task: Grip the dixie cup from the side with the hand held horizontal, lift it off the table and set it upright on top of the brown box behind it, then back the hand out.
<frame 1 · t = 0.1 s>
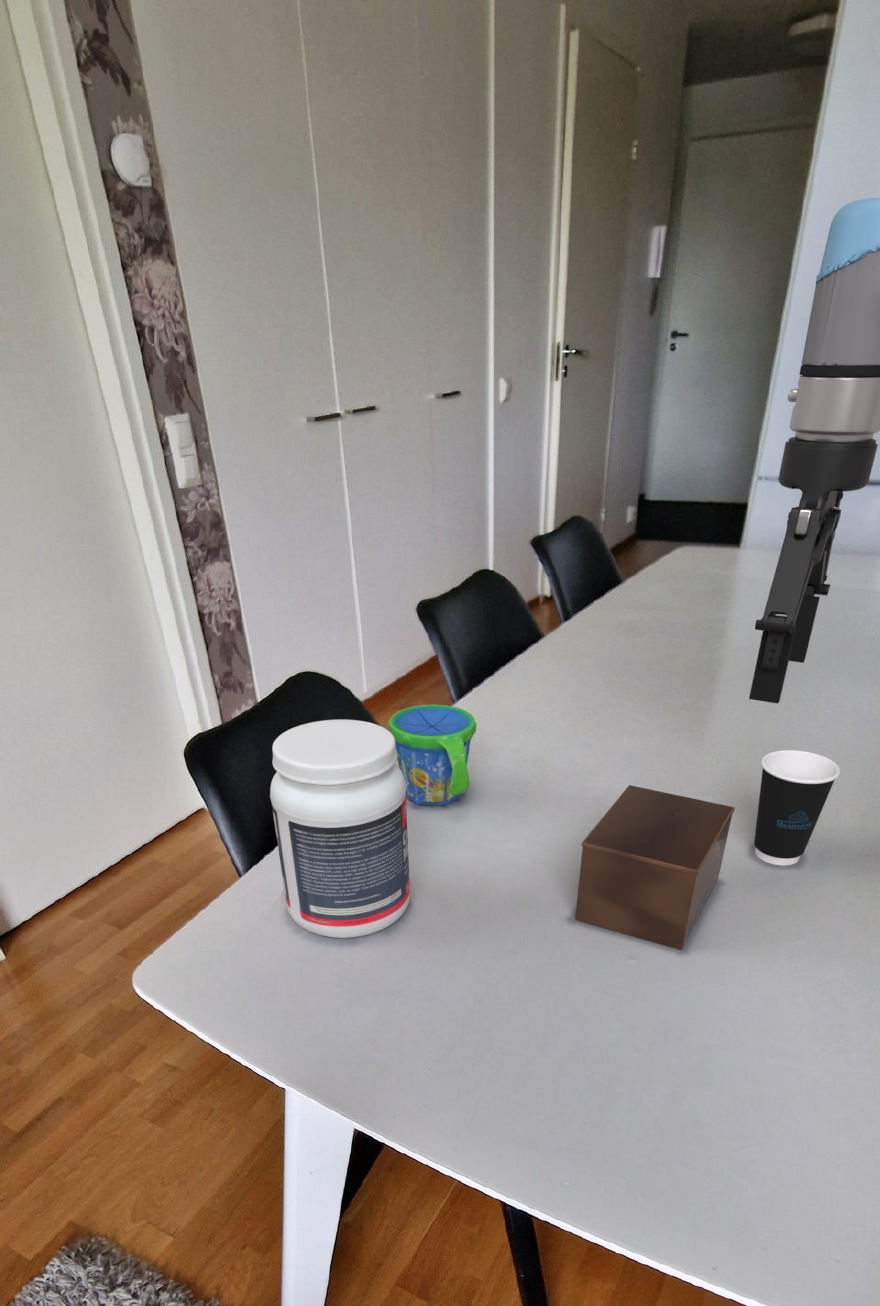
hand: (778, 679, 85), 20 cm above the table, tool pointing down, fingers open, 13 cm apart
dixie cup: (776, 856, 96), on the table
snack cup: (433, 796, 109), on the table
brown box: (648, 900, 88), on the table
supplement tub: (349, 910, 88), on the table
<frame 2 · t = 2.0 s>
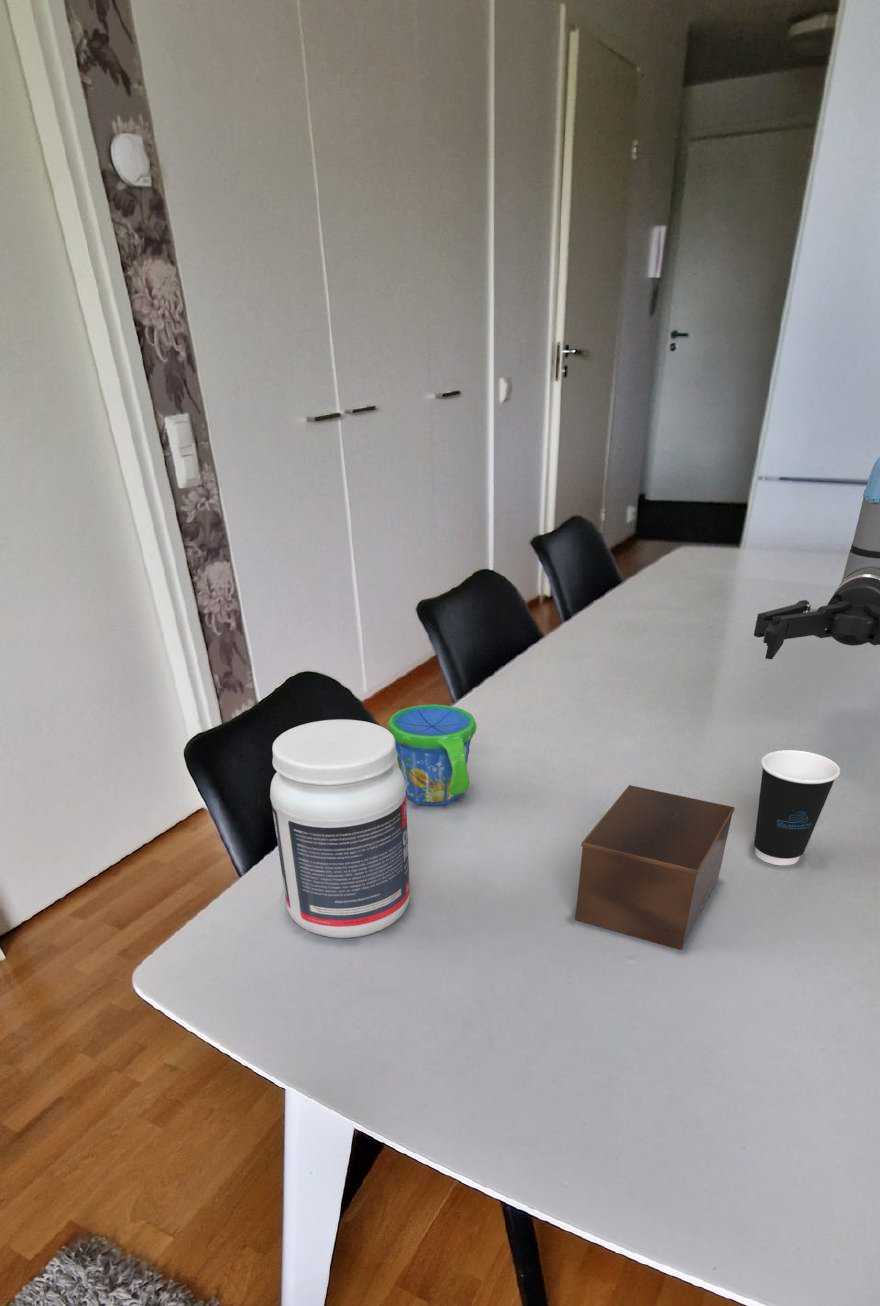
hand: (836, 655, 91), 20 cm above the table, tool horizontal, fingers open, 13 cm apart
nothing on the table moved.
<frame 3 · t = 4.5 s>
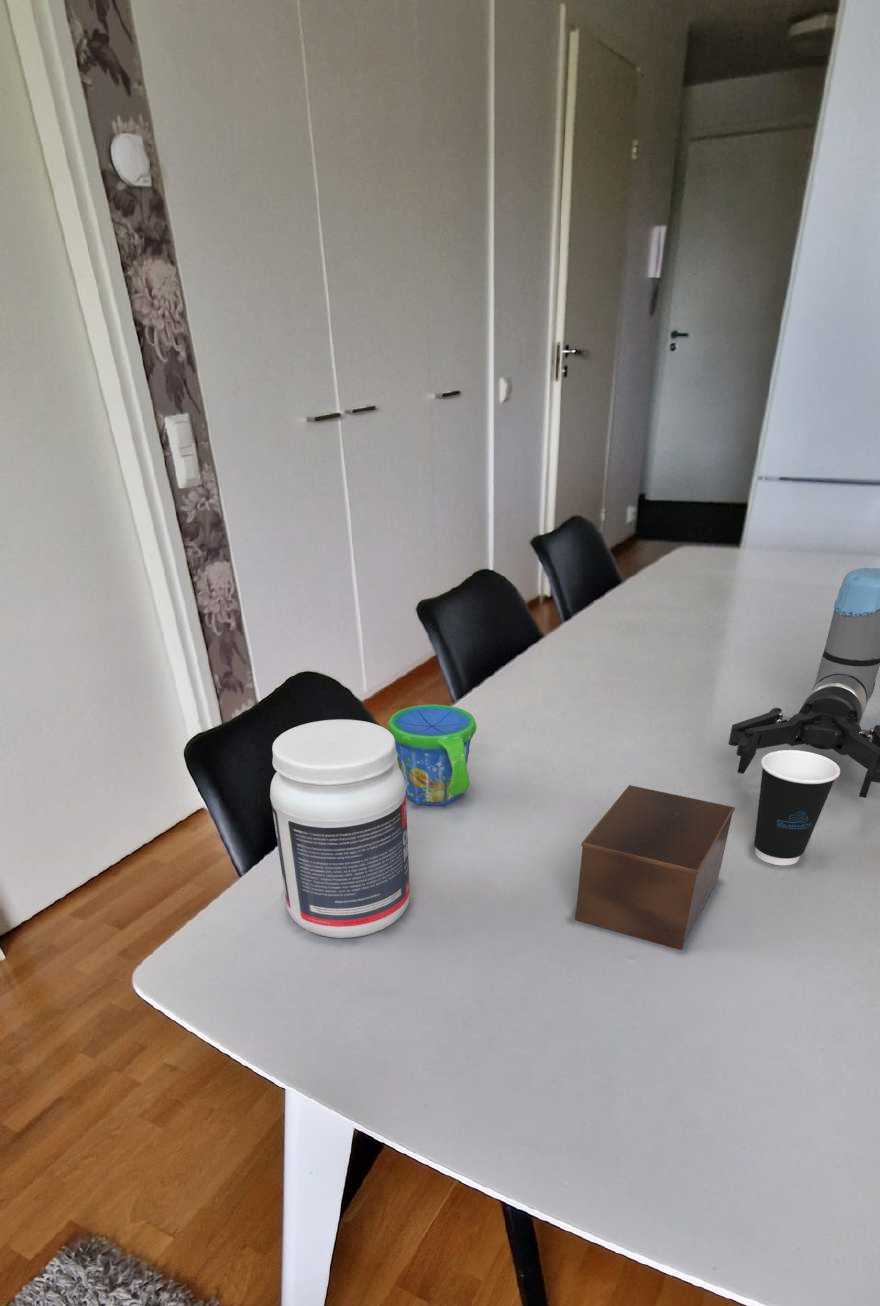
hand: (802, 774, 97), 7 cm above the table, tool horizontal, fingers open, 13 cm apart
nothing on the table moved.
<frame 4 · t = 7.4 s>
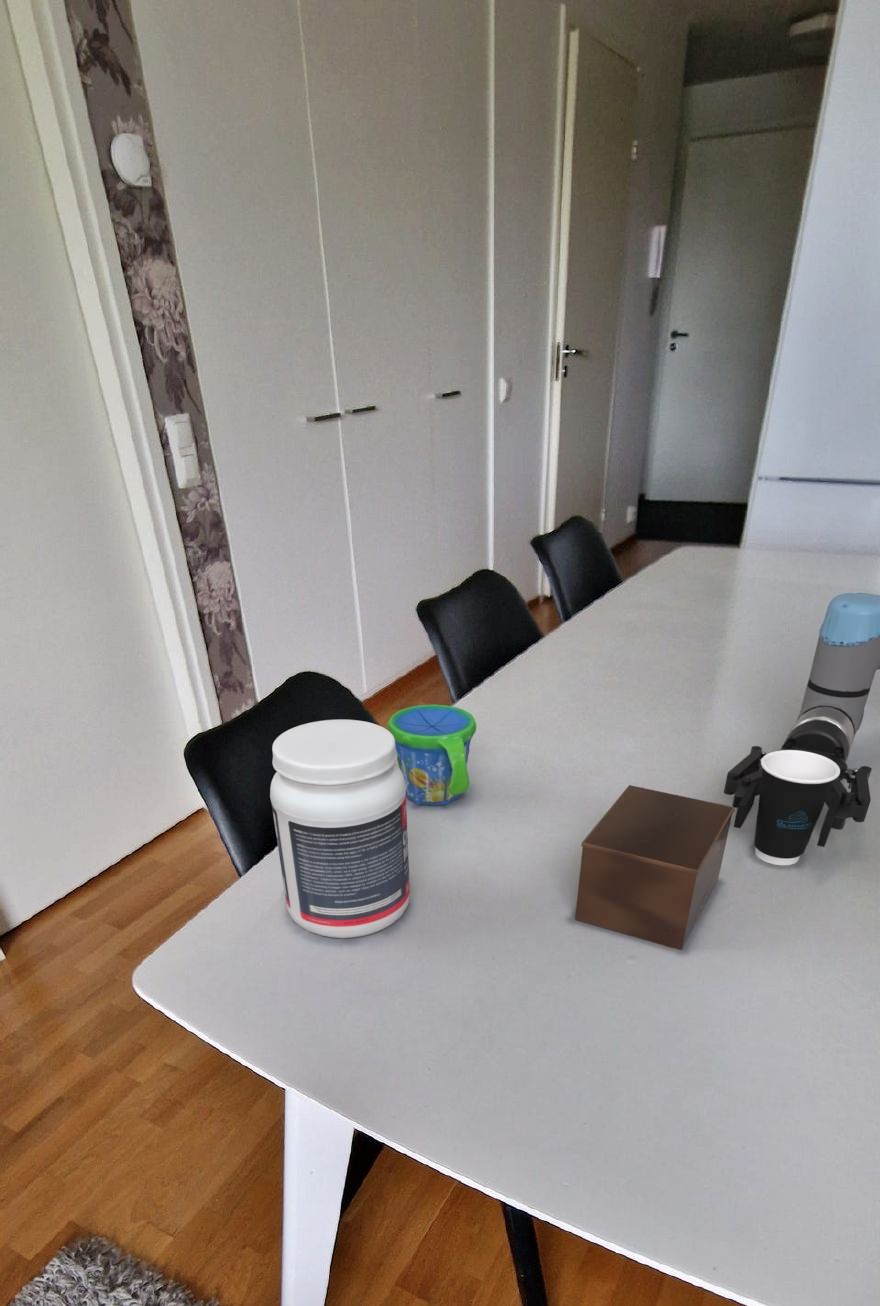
hand: (780, 825, 89), 6 cm above the table, tool horizontal, fingers closed on dixie cup, 8 cm apart
dixie cup: (776, 856, 96), on the table, touching gripper
everything else where it was.
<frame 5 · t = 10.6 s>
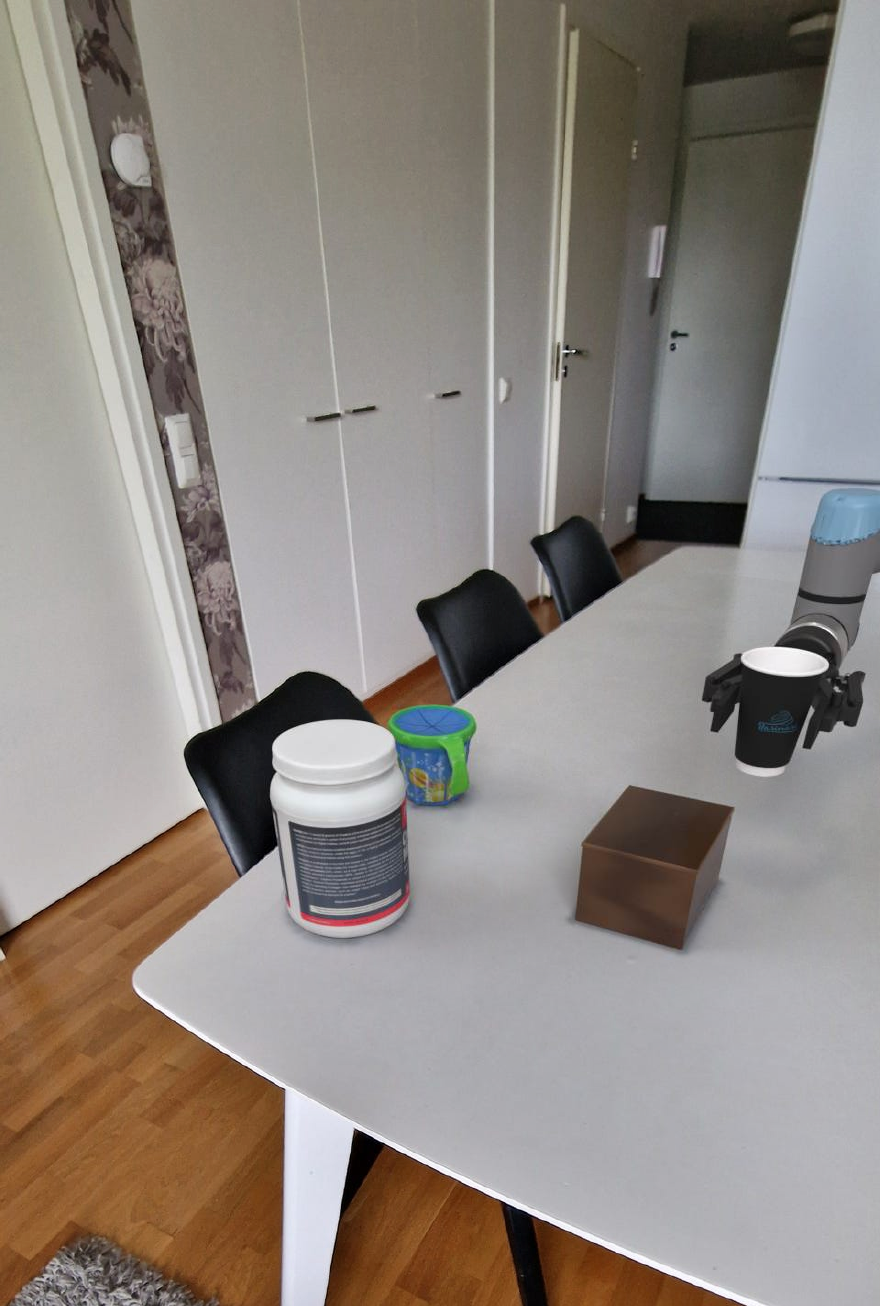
hand: (762, 726, 80), 18 cm above the table, tool horizontal, fingers closed on dixie cup, 8 cm apart
dixie cup: (759, 768, 87), point 12 cm above the table, touching gripper
everything else where it was.
when the fingers open (15 cm above the table, at t = 14.0 s): dixie cup stays where it is, resting on brown box.
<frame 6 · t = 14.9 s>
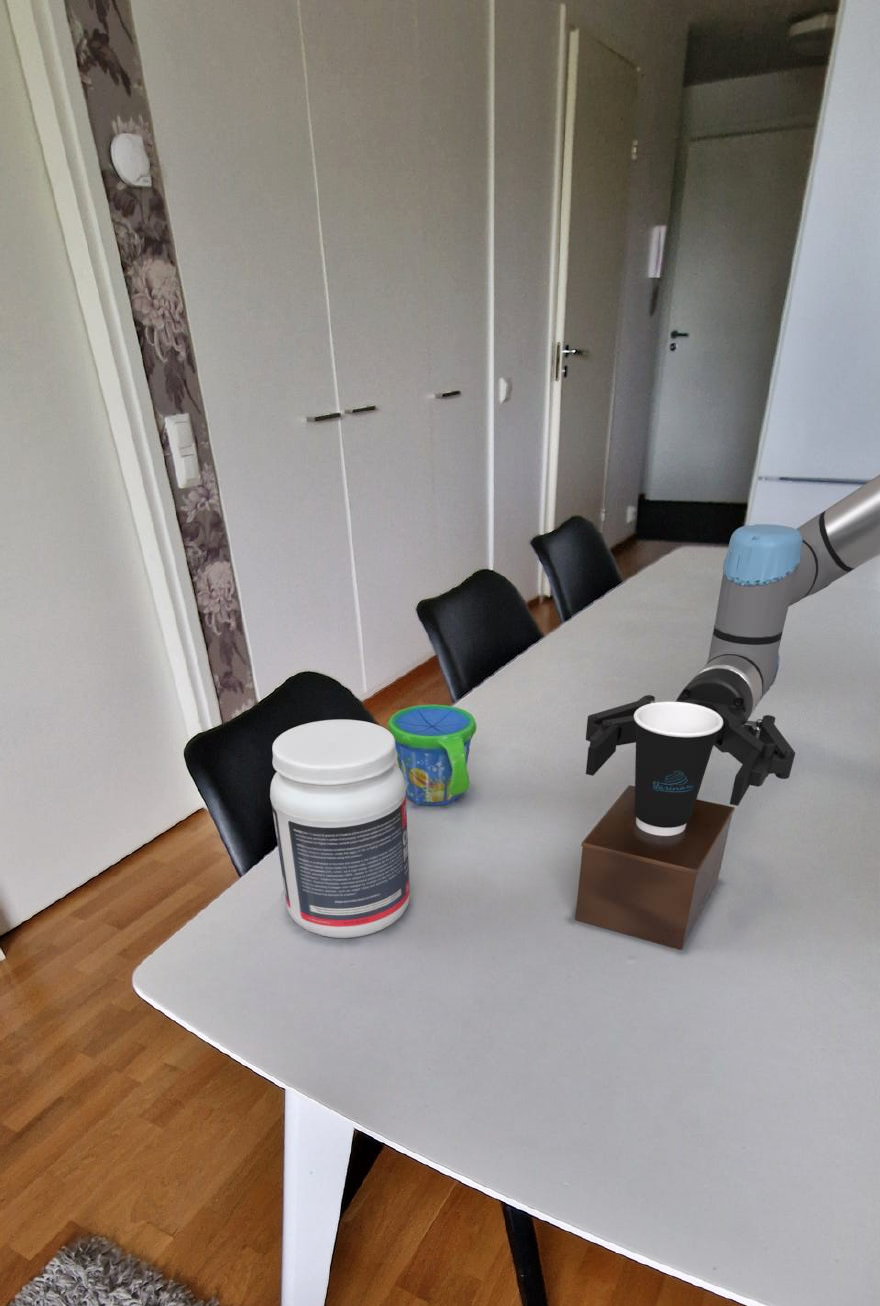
hand: (661, 776, 77), 16 cm above the table, tool horizontal, fingers open, 13 cm apart
dixie cup: (660, 825, 83), point 9 cm above the table, touching brown box
everything else where it was.
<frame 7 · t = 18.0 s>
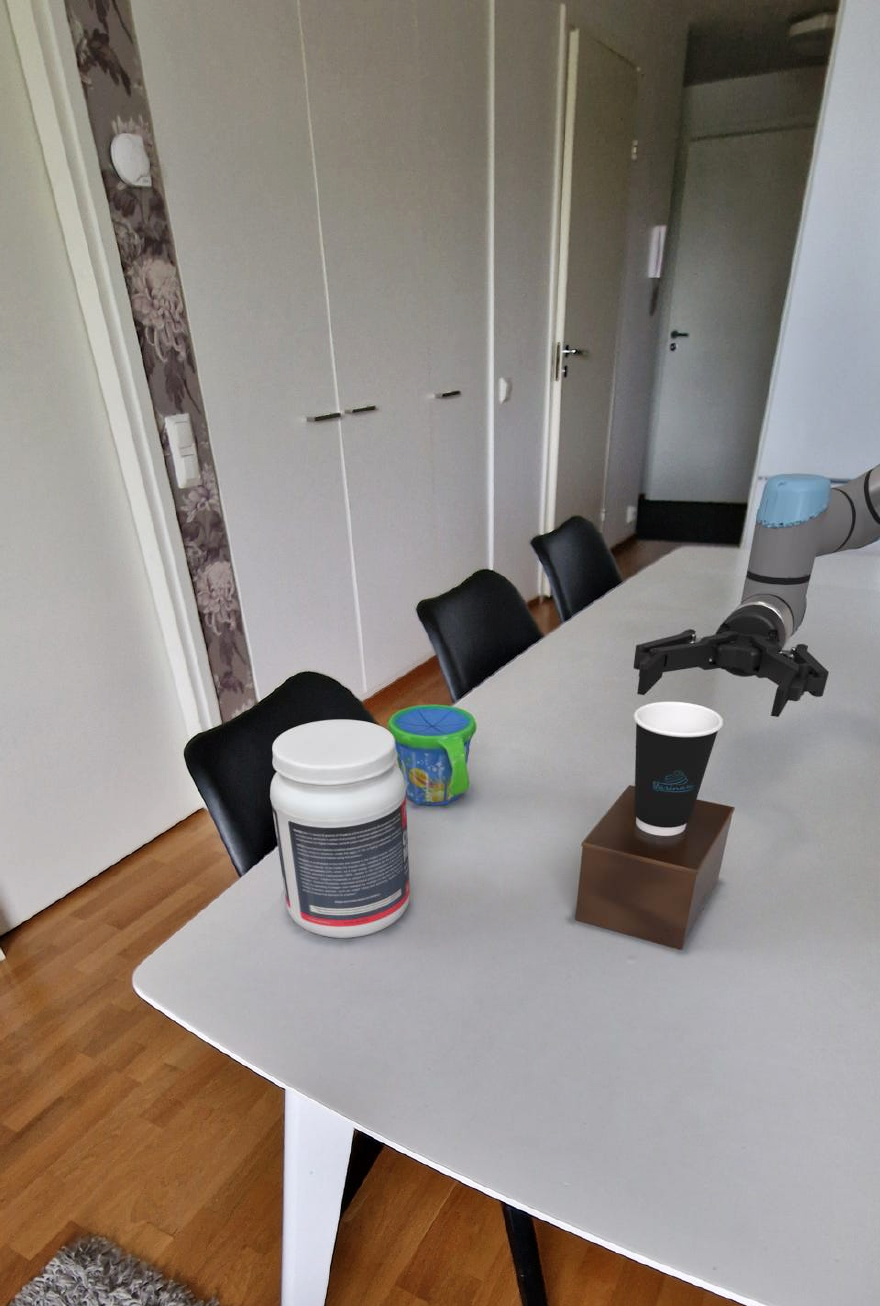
hand: (707, 692, 85), 19 cm above the table, tool horizontal, fingers open, 13 cm apart
nothing on the table moved.
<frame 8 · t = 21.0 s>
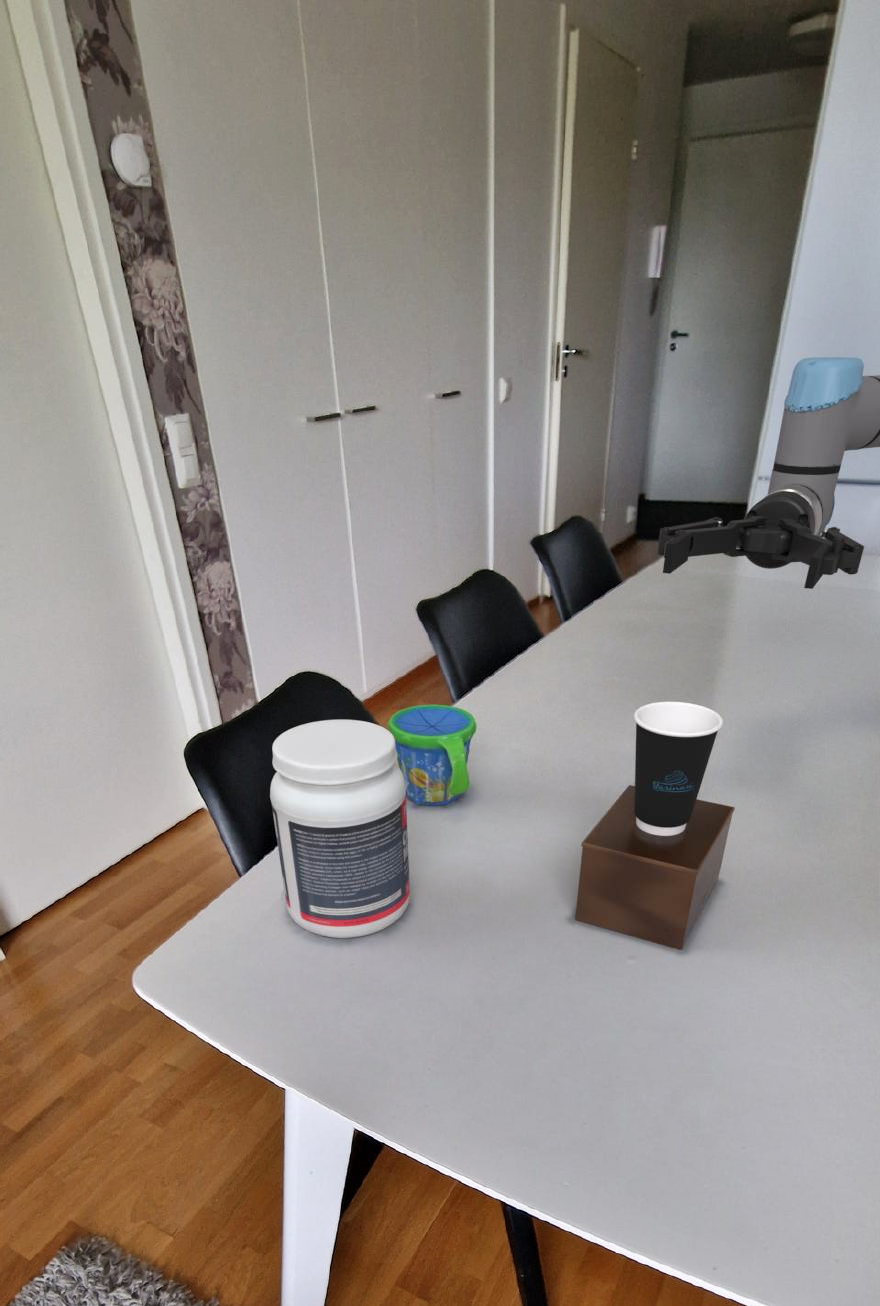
hand: (737, 565, 81), 30 cm above the table, tool horizontal, fingers open, 13 cm apart
nothing on the table moved.
at the end: dixie cup inside the target area on the brown box (0.0 cm from its centre), point 8.8 cm above the brown box's base; dixie cup tilted 0°; the gripper is holding nothing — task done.
